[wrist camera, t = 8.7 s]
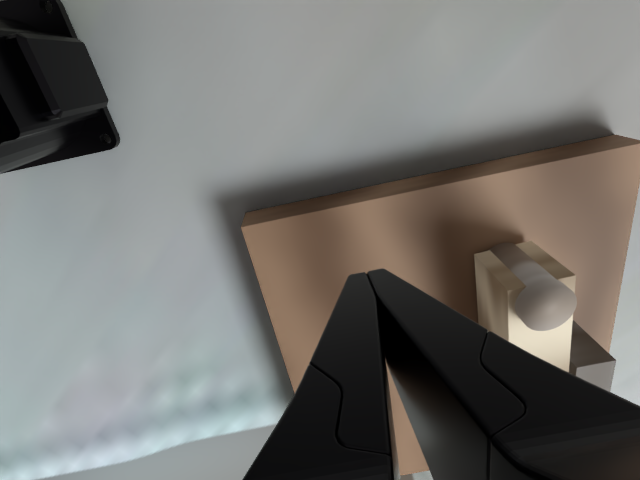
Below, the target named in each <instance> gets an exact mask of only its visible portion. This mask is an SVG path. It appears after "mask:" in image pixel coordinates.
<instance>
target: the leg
mask: <svg viewBox="0 0 640 480" xmlns="http://www.w3.org/2000/svg"><path fill="white" fill-rule="evenodd" d="M474 260H475V276H476V291H477V307H478V322H479V325H481V326H483V327H485V328H486V329H488V332H489V331H492V332H493V333H495V334H497V335H498V336H500V337H502V338H504V339H505V340H507V341H509V342H511V343H512V344H514V345H516V346H518V347H520V348H521V349H523V350H525V351H527V352H529V353H530V354H532V355H534V356H536V357H538V358H540V359H542V360H544V361H546V362H548V363H550V364H552V365H554V366H556V367H558V368H560V369H562V370H565V371H567V372H569V362H570V349H571V335H572V322H573V313H574V311H575V309H576V305H577V298H576V295H575V282H576V275H575V274H574V273H572V272H571V271H570V270H568V269H567V268H566V267H565V266H563V265H562V264H561V263H559V262H558V261H557V260H556V259H554V258H553V257H552V256H550V255H549V254H548V253H546V252H545V251H544V250H543V249H541V248H540V247H539V246H537V245H536V244H535V243H533V242H532V241H528V242H523V243H519V244H514V243H501V244H497V245H495V246H493V247H492V248H490V249H489V250H488V251H485V252H481V253H476V254H474Z"/></svg>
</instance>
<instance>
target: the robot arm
mask: <svg viewBox="0 0 640 480" xmlns="http://www.w3.org/2000/svg"><path fill="white" fill-rule="evenodd" d="M47 1H50V3H51V4H52V7H53V10H52V12H51V13H49V12H48V11H47V10H46V7H45V4H46V2H47ZM107 103H108V98H107V96H106V93H105V91H104V89H103V86H102V84H101V82H100V79H99V77H98V75H97V72H96V70H95V67H94V65H93V63H92V60H91V58H90V56H89V53H88V51H87V49H86V46H85V44H84V43H83V42H81V41H80V40H78V38H77V36H76V34H75V31H74V29H73V27H72V24H71V22H70V20H69V17H68V15H67V13H66V10H65V8H64V6H63V4H62V2H61V1H60V0H5V1H0V174H1V173H6V172H11V171H15V170H20V169H24V168H29V167H33V166H38V165H42V164H47V163H51V162H56V161H61V160H65V159H70V158H74V157H79V156H83V155H88V154H92V153H97V152H101V151H106V150H110V149H112V148H115V147H117V146H118V145H119V143H120V137H119V134H118V132H117V129H116V127H115V125H114V122H113V120H112V118H111V115H110V113H109V111H108V108H107ZM104 134H107V135H109V136H110V138H111V143H108V142H106V141H105V139H104ZM386 363H387V366H388V368H389V371H390V374H391V376H392V379H393V381H394V384H395V386H396V389H397V391H398V394H399V396H400V399H401V401H402V403H403V406H404V408H405V411H406V413H407V416H408V418H409V421H410V423H411V426H412V428H413V430H414V433H415V435H416V438H417V440H418V443H419V445H420V448H421V450H422V453H423V455H424V457H425V460H426V462H427V465H428V467H429V470H430V472H431V475H432V477H433V480H640V406H638V405H636V404H634V403H632V402H630V401H628V400H626V399H623V398H621V397H619V396H617V395H615V394H613V393H611V392H609V391H607V390H604V389H602V388H600V387H598V386H596V385H594V384H592V383H590V382H588V381H586V380H583V379H581V378H579V377H577V376H575V375H573V374H571V373H569V372H567V371H565V370H562V369H560V368H558V367H556V366H554V365H552V364H550V363H548V362H546V361H544V360H542V359H540V358H538V357H536V356H534V355H532V354H530V353H529V352H527V351H525V350H523V349H521V348H520V347H518V346H516V345H514V344H512V343H511V342H509V341H507V340H505V339H504V338H502V337H500V336H498V335H497V334H495V333H493V332H492V331H489V332H488V329H486V328H485V327H483V326H481V325H479V324H478V323H476V322H474V321H473V320H471V319H469V318H468V317H466V316H464V315H462V314H461V313H459V312H457V311H456V310H454V309H452V308H451V307H449V306H447V305H445V304H444V303H442V302H440V301H439V300H437V299H435V298H434V297H432V296H430V295H428V294H427V293H425V292H423V291H422V290H420V289H418V288H417V287H415V286H413V285H411V284H410V283H408V282H406V281H405V280H403V279H401V278H400V277H398V276H396V275H394V274H393V273H391V272H389V271H388V270H386V269H383V268H381V269H376V270H371V271H368V272H367V274H366V273H365V272H361V273H356V274H351V275H349V276H348V278H347V280H346V282H345V284H344V287H343V289H342V291H341V293H340V296H339V298H338V300H337V302H336V304H335V307H334V309H333V311H332V313H331V316H330V318H329V320H328V322H327V324H326V327H325V329H324V331H323V333H322V336H321V338H320V340H319V342H318V345H317V347H316V349H315V351H314V353H313V356H312V358H311V360H310V362H309V365H308V366H307V369H306V371H305V373H304V375H303V378H302V380H301V382H300V384H299V386H298V388H297V390H296V392H295V394H294V396H293V398H292V400H291V402H290V403H289V405H288V407H287V408H286V410H285V412H284V413H283V415H282V417H281V419H280V420H279V422H278V424H277V425H276V427H275V428H274V430H273V432H272V433H271V435H270V437H269V438H268V440H267V441H266V443H265V444H264V446H263V448H262V449H261V451H260V452H259V454H258V456H257V457H256V459H255V461H254V462H253V464H252V465H251V467H250V468H249V470H248V472H247V473H246V475H245V476H244V478H243V480H401V479H400V471H399V462H398V454H397V446H396V438H395V430H394V422H393V414H392V405H391V397H390V389H389V381H388V373H387V366H386Z"/></svg>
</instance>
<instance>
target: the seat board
mask: <svg viewBox="0 0 640 480" xmlns="http://www.w3.org/2000/svg"><path fill="white" fill-rule="evenodd" d="M639 183H640V140H636V139H632V138H628V137H623V136H619V135H611V136H606V137H601V138H596V139H592V140H587V141H582V142H577V143H573V144H568V145H563V146H558V147H554V148H549V149H544V150H540V151H535V152H530V153H525V154H521V155H516V156H511V157H506V158H502V159H497V160H492V161H487V162H483V163H478V164H473V165H468V166H464V167H459V168H454V169H450V170H445V171H440V172H435V173H431V174H426V175H421V176H416V177H412V178H407V179H402V180H397V181H393V182H388V183H383V184H379V185H374V186H369V187H364V188H360V189H355V190H350V191H345V192H341V193H336V194H331V195H326V196H322V197H317V198H312V199H308V200H303V201H298V202H293V203H289V204H284V205H279V206H274V207H270V208H265V209H260V210H255V211H251V212H246V213H245V216H244V219H243V222H242V225H241V229H242V232H243V235H244V239H245V242H246V245H247V248H248V251H249V254H250V257H251V260H252V263H253V266H254V269H255V273H256V276H257V279H258V282H259V285H260V288H261V291H262V294H263V297H264V300H265V304H266V307H267V310H268V313H269V316H270V319H271V322H272V325H273V328H274V331H275V334H276V338H277V341H278V344H279V347H280V350H281V353H282V356H283V359H284V362H285V365H286V368H287V372H288V375H289V378H290V381H291V384H292V387H293V390H294V393H295V392H296V390H297V388H298V386H299V384H300V382H301V380H302V378H303V375H304V373H305V371H306V369H307V366H308V365H309V362H310V360H311V358H312V356H313V353H314V351H315V349H316V347H317V345H318V342H319V340H320V338H321V336H322V333H323V331H324V329H325V327H326V324H327V322H328V320H329V318H330V316H331V313H332V311H333V309H334V307H335V304H336V302H337V300H338V298H339V296H340V293H341V291H342V289H343V287H344V284H345V282H346V280H347V278H348V276H349V275H351V274H356V273H361V272H365V273H366V274H367V272H368V271H371V270H376V269H381V268H383V269H386V270H388V271H389V272H391V273H393V274H394V275H396V276H398V277H400V278H401V279H403V280H405V281H406V282H408V283H410V284H411V285H413V286H415V287H417V288H418V289H420V290H422V291H423V292H425V293H427V294H428V295H430V296H432V297H434V298H435V299H437V300H439V301H440V302H442V303H444V304H445V305H447V306H449V307H451V308H452V309H454V310H456V311H457V312H459V313H461V314H462V315H464V316H466V317H468V318H469V319H471V320H473V321H474V322H476V323H478V324H479V322H478V307H477V291H476V276H475V260H474V254H476V253H481V252H485V251H488V250H489V249H490V248H492V247H493V246H495V245H497V244H501V243H514V244H519V243H523V242H528V241H532V242H533V243H535V244H536V245H537V246H539V247H540V248H541V249H543V250H544V251H545V252H546V253H548V254H549V255H550V256H552V257H553V258H554V259H556V260H557V261H558V262H559V263H561V264H562V265H563V266H565V267H566V268H567V269H568V270H570V271H571V272H572V273H574V274H575V275H576V282H575V295H576V298H577V305H576V309H575V311H574V313H573V322H572V335H571V349H570V362H569V373H571V374H573V375H575V376H577V377H579V378H581V379H583V380H586V381H588V382H590V383H592V384H594V385H596V386H598V387H600V388H602V389H604V390H607V391H609V392H610V389H611V384H612V379H613V374H614V368H615V363H616V360H615V359H614V358H613V357H612V356H611V355H610V354H609V350H610V344H611V339H612V333H613V327H614V322H615V316H616V311H617V305H618V300H619V294H620V289H621V283H622V277H623V272H624V266H625V261H626V255H627V250H628V244H629V239H630V233H631V227H632V222H633V216H634V211H635V205H636V200H637V194H638V189H639ZM386 366H387V363H386ZM387 373H388V381H389V389H390V397H391V405H392V414H393V422H394V430H395V438H396V446H397V454H398V462H399V471H400V476H401V475H406V474H412V473H417V472H423V471H428V470H429V467H428V465H427V462H426V460H425V457H424V455H423V453H422V450H421V448H420V445H419V443H418V440H417V438H416V435H415V433H414V430H413V428H412V426H411V423H410V421H409V418H408V416H407V413H406V411H405V408H404V406H403V403H402V401H401V399H400V396H399V394H398V391H397V389H396V386H395V384H394V381H393V379H392V376H391V374H390V371H389V368H388V366H387Z"/></svg>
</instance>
